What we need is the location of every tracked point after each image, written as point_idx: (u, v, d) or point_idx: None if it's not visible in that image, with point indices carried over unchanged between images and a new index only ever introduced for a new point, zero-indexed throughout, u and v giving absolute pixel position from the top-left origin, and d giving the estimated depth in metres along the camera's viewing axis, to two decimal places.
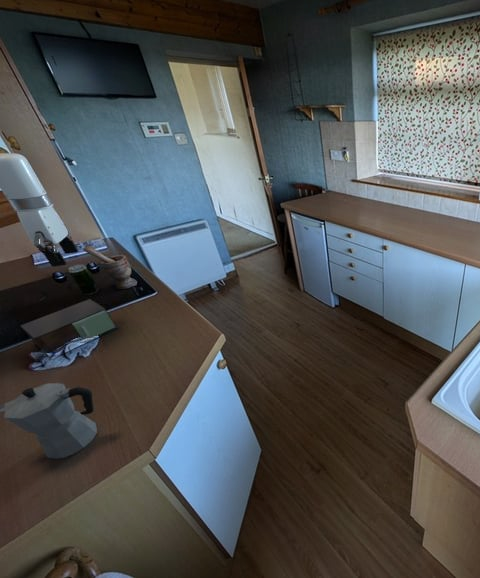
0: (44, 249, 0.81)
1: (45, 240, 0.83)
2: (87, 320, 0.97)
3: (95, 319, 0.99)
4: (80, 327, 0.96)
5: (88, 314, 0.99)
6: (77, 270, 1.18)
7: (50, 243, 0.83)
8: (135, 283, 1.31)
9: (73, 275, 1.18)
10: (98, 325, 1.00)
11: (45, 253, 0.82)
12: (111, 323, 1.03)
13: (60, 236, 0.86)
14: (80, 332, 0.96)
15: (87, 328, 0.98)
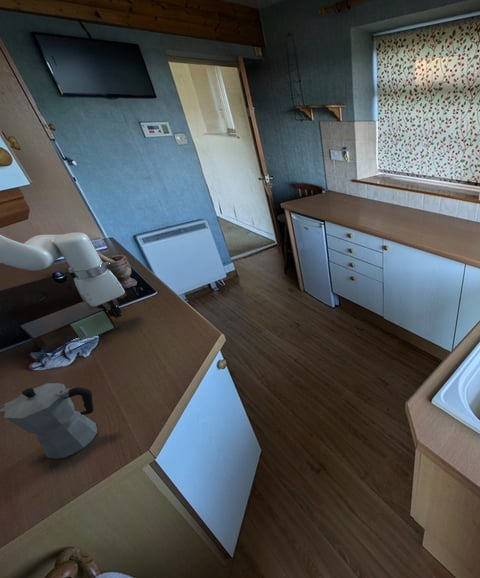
0: (97, 307, 0.98)
1: None
2: (85, 321, 0.97)
3: (94, 320, 0.99)
4: (78, 328, 0.96)
5: (88, 314, 0.99)
6: None
7: (101, 304, 0.99)
8: (135, 283, 1.31)
9: (73, 275, 1.18)
10: (97, 326, 1.00)
11: None
12: (110, 324, 1.03)
13: (104, 299, 0.98)
14: (78, 333, 0.96)
15: (85, 329, 0.97)
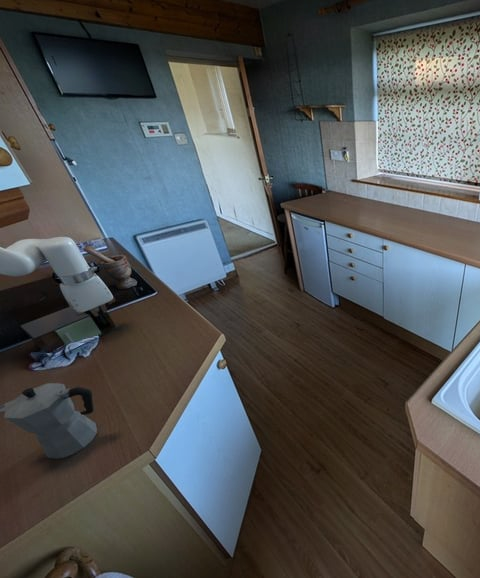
0: (84, 313, 0.96)
1: None
2: (71, 327, 0.94)
3: (80, 326, 0.96)
4: (64, 334, 0.93)
5: None
6: None
7: (89, 310, 0.96)
8: (135, 283, 1.31)
9: None
10: (83, 332, 0.97)
11: None
12: (97, 329, 1.00)
13: (91, 305, 0.95)
14: (64, 339, 0.93)
15: (71, 335, 0.95)
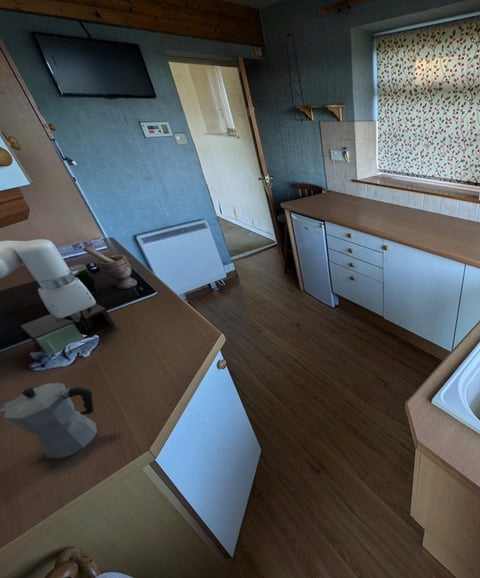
0: (64, 318, 0.92)
1: None
2: (53, 335, 0.91)
3: (62, 333, 0.93)
4: (45, 342, 0.90)
5: None
6: (77, 270, 1.18)
7: None
8: (135, 283, 1.31)
9: None
10: (66, 340, 0.94)
11: None
12: (81, 337, 0.97)
13: (71, 310, 0.92)
14: (45, 348, 0.90)
15: (53, 343, 0.91)
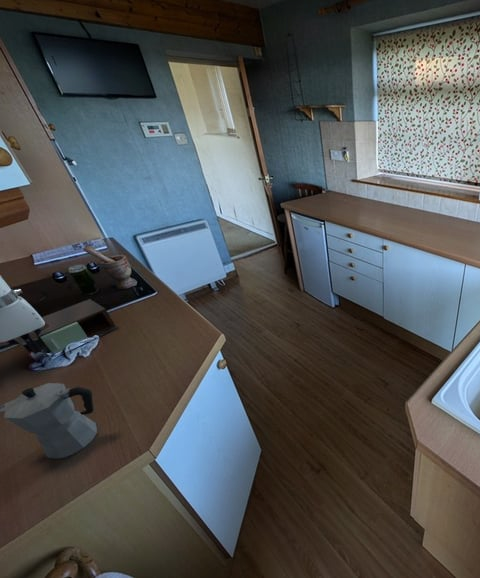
0: (8, 342, 0.83)
1: None
2: (57, 333, 0.91)
3: (66, 332, 0.93)
4: (49, 340, 0.90)
5: (88, 314, 0.99)
6: (77, 270, 1.18)
7: None
8: (135, 283, 1.31)
9: (73, 275, 1.18)
10: (70, 338, 0.94)
11: None
12: (84, 335, 0.97)
13: (15, 333, 0.82)
14: (49, 346, 0.91)
15: (57, 341, 0.92)
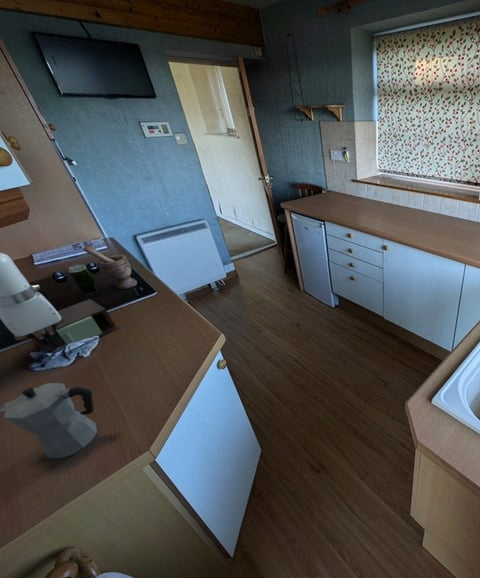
0: (26, 336, 0.86)
1: None
2: (72, 326, 0.94)
3: (80, 325, 0.96)
4: (65, 334, 0.93)
5: (88, 314, 0.99)
6: (77, 270, 1.18)
7: None
8: (135, 283, 1.31)
9: (73, 275, 1.18)
10: (84, 332, 0.97)
11: None
12: (98, 329, 1.00)
13: (33, 328, 0.85)
14: (65, 339, 0.93)
15: (72, 335, 0.95)
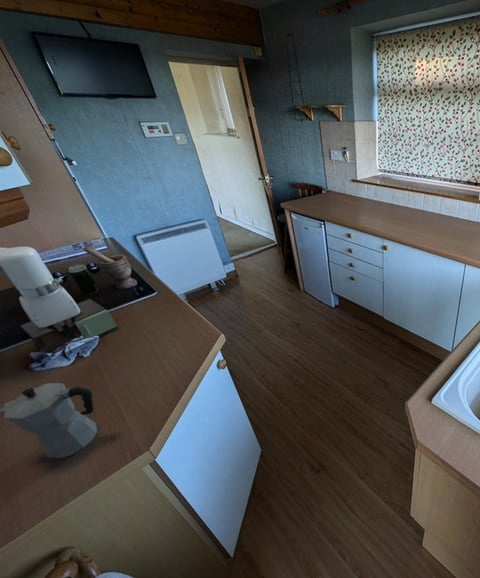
0: (47, 327, 0.89)
1: None
2: (89, 319, 0.97)
3: (97, 318, 0.99)
4: (82, 326, 0.96)
5: (88, 314, 0.99)
6: (77, 270, 1.18)
7: None
8: (135, 283, 1.31)
9: (73, 275, 1.18)
10: (100, 324, 1.00)
11: None
12: (113, 322, 1.04)
13: (54, 320, 0.89)
14: (82, 331, 0.97)
15: (89, 327, 0.98)
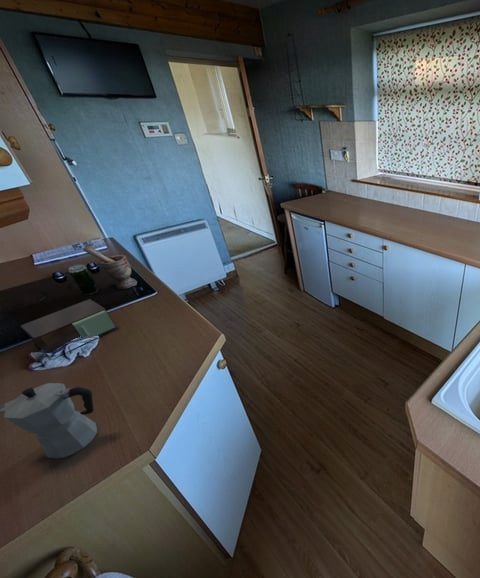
0: None
1: None
2: (87, 320, 0.97)
3: (95, 319, 0.99)
4: (80, 327, 0.96)
5: (88, 314, 0.99)
6: (77, 270, 1.18)
7: None
8: (135, 283, 1.31)
9: (73, 275, 1.18)
10: (98, 325, 1.00)
11: None
12: (111, 323, 1.03)
13: None
14: (80, 332, 0.96)
15: (87, 328, 0.98)
